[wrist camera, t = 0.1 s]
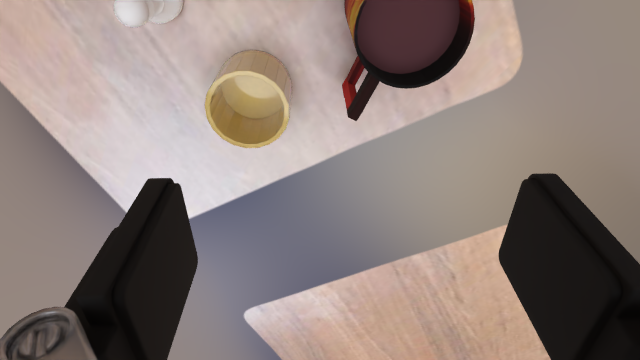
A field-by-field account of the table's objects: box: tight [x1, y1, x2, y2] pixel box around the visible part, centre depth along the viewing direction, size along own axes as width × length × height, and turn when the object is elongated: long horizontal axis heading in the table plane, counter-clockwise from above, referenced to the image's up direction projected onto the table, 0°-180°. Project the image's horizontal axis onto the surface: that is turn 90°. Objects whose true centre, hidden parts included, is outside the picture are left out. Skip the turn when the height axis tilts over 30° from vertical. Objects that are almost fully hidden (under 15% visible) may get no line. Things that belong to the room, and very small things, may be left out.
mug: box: [342, 0, 475, 121], centre depth 39 cm, size 10×14×12 cm
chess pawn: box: [114, 0, 183, 28], centre depth 38 cm, size 5×5×9 cm
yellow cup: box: [205, 50, 292, 148], centre depth 44 cm, size 9×9×7 cm
